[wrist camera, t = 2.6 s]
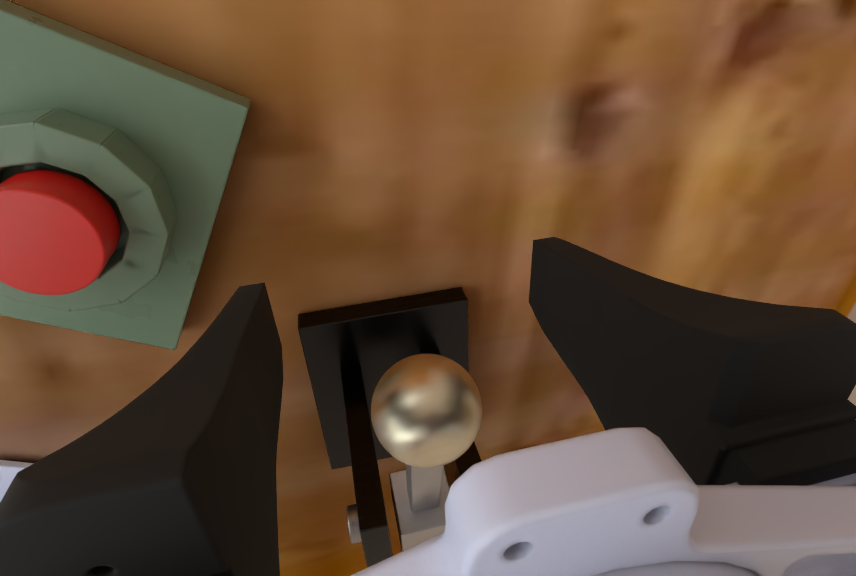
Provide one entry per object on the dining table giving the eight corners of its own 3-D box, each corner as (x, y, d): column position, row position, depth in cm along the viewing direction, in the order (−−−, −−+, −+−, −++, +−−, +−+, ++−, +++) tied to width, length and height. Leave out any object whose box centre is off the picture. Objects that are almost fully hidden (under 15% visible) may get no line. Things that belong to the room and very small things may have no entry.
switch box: (181, 331, 23) (167, 379, 20) (-72, 277, 19) (-128, 327, 17) (251, 99, 19) (244, 122, 16) (-59, -28, 15) (-133, -25, 12)
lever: (359, 343, 13) (377, 453, 11) (469, 323, 14) (504, 426, 12) (381, 490, 23) (394, 563, 21) (447, 475, 23) (465, 546, 21)
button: (110, 281, 18) (95, 308, 17) (-13, 251, 17) (-41, 278, 15) (130, 192, 17) (115, 213, 15) (-4, 150, 15) (-34, 170, 14)
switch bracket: (297, 313, 24) (300, 491, 16) (461, 286, 25) (540, 439, 17) (330, 453, 29) (345, 638, 21) (463, 424, 31) (524, 589, 23)
